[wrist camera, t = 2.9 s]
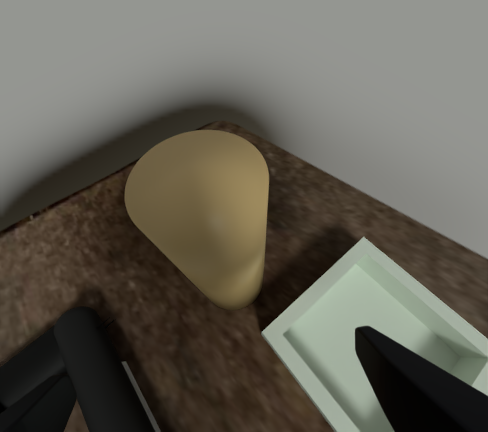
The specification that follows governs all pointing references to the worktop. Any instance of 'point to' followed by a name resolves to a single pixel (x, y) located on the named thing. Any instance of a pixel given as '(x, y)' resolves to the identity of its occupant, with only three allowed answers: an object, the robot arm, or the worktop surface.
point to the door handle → (81, 373)
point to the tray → (378, 317)
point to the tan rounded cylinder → (206, 211)
